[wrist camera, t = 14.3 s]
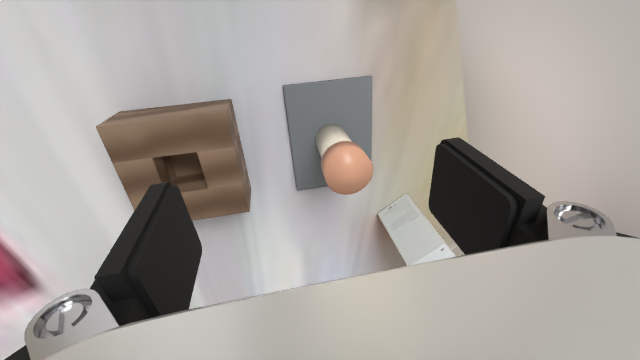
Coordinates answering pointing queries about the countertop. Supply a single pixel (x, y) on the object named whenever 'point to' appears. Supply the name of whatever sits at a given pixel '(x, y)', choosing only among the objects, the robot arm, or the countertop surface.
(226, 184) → the socket block
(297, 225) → the countertop surface
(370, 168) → the plug
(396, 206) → the small box
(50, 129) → the countertop surface
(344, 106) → the mat
